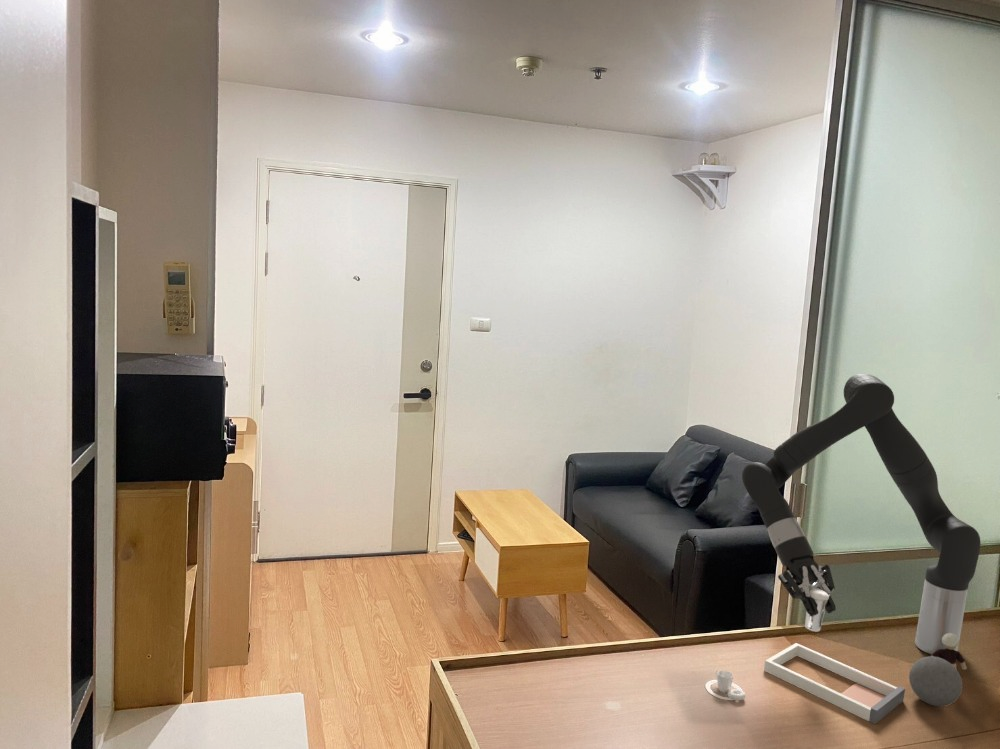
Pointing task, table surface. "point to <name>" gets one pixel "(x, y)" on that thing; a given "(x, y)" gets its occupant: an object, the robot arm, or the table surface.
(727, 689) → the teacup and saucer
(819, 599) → the milkshake
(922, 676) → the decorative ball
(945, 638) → the grandmother figurine
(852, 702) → the tray
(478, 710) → the table surface
